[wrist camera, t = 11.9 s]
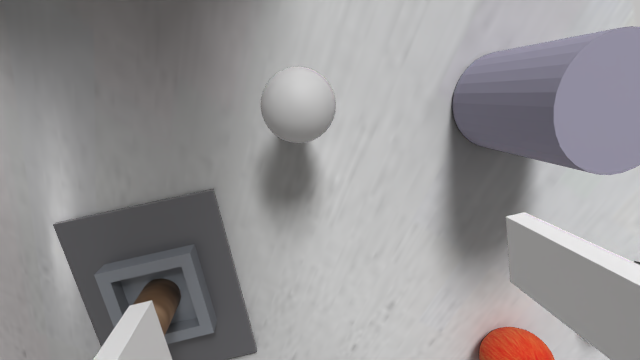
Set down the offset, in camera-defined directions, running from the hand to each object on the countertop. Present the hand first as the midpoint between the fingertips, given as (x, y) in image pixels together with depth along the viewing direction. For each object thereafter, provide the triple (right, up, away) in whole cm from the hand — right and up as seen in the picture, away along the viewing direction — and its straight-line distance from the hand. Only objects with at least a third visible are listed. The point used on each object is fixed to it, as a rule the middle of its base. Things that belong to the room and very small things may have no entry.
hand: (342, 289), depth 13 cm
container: (+19, +13, +27) cm, 35 cm away
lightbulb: (-4, +12, +25) cm, 28 cm away
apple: (+22, -17, +35) cm, 45 cm away
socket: (-18, -8, +27) cm, 34 cm away
